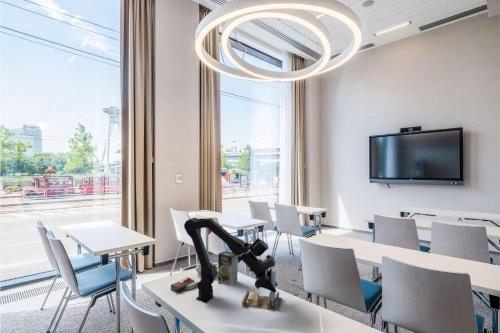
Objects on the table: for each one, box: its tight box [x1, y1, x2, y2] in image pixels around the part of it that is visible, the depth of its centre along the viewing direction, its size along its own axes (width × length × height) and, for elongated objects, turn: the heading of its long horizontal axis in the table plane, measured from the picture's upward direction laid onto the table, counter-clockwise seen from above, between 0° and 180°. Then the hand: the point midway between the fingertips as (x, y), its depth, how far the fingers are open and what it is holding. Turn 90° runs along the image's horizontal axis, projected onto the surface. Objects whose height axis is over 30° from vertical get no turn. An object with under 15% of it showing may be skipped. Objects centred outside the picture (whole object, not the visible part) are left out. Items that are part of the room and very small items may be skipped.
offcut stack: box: [246, 291, 260, 306], centre depth 128 cm, size 5×8×2 cm, turn 170°
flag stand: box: [195, 228, 218, 278], centre depth 162 cm, size 13×13×30 cm
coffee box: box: [217, 250, 239, 286], centre depth 149 cm, size 9×6×16 cm
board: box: [271, 269, 277, 306], centre depth 126 cm, size 2×6×14 cm, turn 170°
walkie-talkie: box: [170, 276, 200, 294], centre depth 146 cm, size 9×4×20 cm
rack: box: [241, 290, 283, 312], centre depth 127 cm, size 17×12×3 cm
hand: (276, 288), depth 126 cm, fingers closed on board, 6 cm apart
